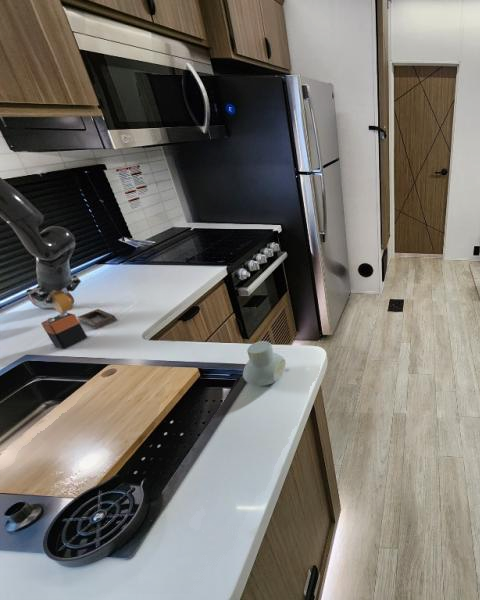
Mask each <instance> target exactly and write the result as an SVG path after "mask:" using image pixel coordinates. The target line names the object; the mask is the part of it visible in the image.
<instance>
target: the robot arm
mask: <svg viewBox="0 0 480 600" xmlns="http://www.w3.org/2000/svg"><path fill="white" fill-rule="evenodd" d="M0 218H1V219H2V220H3V221H5V222H6V223H7V224H8V225H9V226H10V227H11V228H12V230H13V231H14V232H15V234H16V236H17V237H18V238H19V240H20V242H21V243H22V245H23V246H24V248H25V249H26V250H27V252H29V253H30V255H32V256H34V258H35V262H36V267H35V272H36V281H37V285H36V287H37V288H36V287H35V288H36V289H34V288H33V289H34V290H33V289H31V288H28V289H27V290H26V291H25V292H26V293H27V294H29V295H30V296H31V297H32V298H34V299H36V300H38V301H45V302H46V303H47V304H48V303H49V304H52V296H54V293H55V292H57V291H62V292H63V293H65V294H66V295H67V294H68V292H69V293H70V292H74V291H75V290H76V289H77V287H78V286H79V285H80V284H81V282H82V280H80V278H79V277H78V276H77V275H73V276H71V273H72V271H71V267H70V258H71V257H72V255H73V253H74V251H75V247H76V239H75V238H76V237H75V236H74V235H73V233H72V232H71V231H70V230H69V229H67V228H66V227H62V226H59V225H52V226H48V227H46V228H45V229H43V230H42V231H39V227H40V226H41V224H42V223H43V222H44V219H45V217H44V215H43V214H42V213H41V211H39V209H37V208H36V207H35V206H34V205H33V203H31V202H30V201H29V200H28V199H27V198H26V197H25V196H24V195H23V194H22V193H21V192H20V191H18V190H17V189H16V188H15V187H14V186H12V185H11V184H10V183H8V181H6V180H4V179H3V178H2V177H0ZM39 292H42V294H41V295H40V294H39Z"/></svg>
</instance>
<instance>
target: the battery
mask: <svg viewBox="0 0 480 600" xmlns="http://www.w3.org/2000/svg"><path fill="white" fill-rule="evenodd" d="M40 324H41V326H42V329H44V331H45V333H46V334H47V336H48V338H49V339H50V341H51V343H52V344H53V345H54V348H58V349H64V350H66V349H68V348H70V347H72V346H74V345H76V344H78V343H80V342H82V341H84V340H86V339H87V338H88V336H87V334H86V332H85V330H84V328H83V327H82V325H81V322H79V320H78V318H77V316H76V314H75V313H69V311H67V312H65V311H64V312H61V313H60V312H58V313H57V315H56V316H53V317H49V318H46V319H45V320H44V321H42V322H41V323H40Z"/></svg>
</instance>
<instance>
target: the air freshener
mask: <svg viewBox="0 0 480 600" xmlns="http://www.w3.org/2000/svg"><path fill="white" fill-rule="evenodd" d="M246 351H247V352H246V353H247V355H248V361H247V362H246V364H245V365H244V367H243V371H242V377H243V379H244V381H245V382H246V383H248V385H249V384H250V385H252V386H256V387H263V386H268V385H271V384H273V383H275V382H277V381H279V380H280V378H281V377H282V376H283V374H284V371H285V368H286V359H285V357H283V356H282V355H281V354H279V353H276V352H274V350H273V346H272V344H271V342H269V341H267V340H260V341H256V342H254V343H252V344H250V345H249V346H248V348H247V350H246Z"/></svg>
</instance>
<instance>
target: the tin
mask: <svg viewBox="0 0 480 600" xmlns="http://www.w3.org/2000/svg"><path fill="white" fill-rule="evenodd" d="M36 288H37V286H36V287H34V288H33V289H32V290H34V289H36ZM39 294H40V295H41V294H42V292H39ZM26 296H27V298H28V300H29V301H30V302H31V304H32V305H33V306H35V307H37V308H40V309H44V310H56V309H55V308H54V307H53V305H52V304H49V303H48V304H47V303H46V302H45V301H38V300H36V299H34V298H32V297H31V296H30V295H29V294H28V293H27V295H26ZM67 297H68V298H69V300H70V301H71V303H72V306H73V305H74V304H75V298H74V297H73V294H71V292H70V291H69V292H68V294H67Z"/></svg>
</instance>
